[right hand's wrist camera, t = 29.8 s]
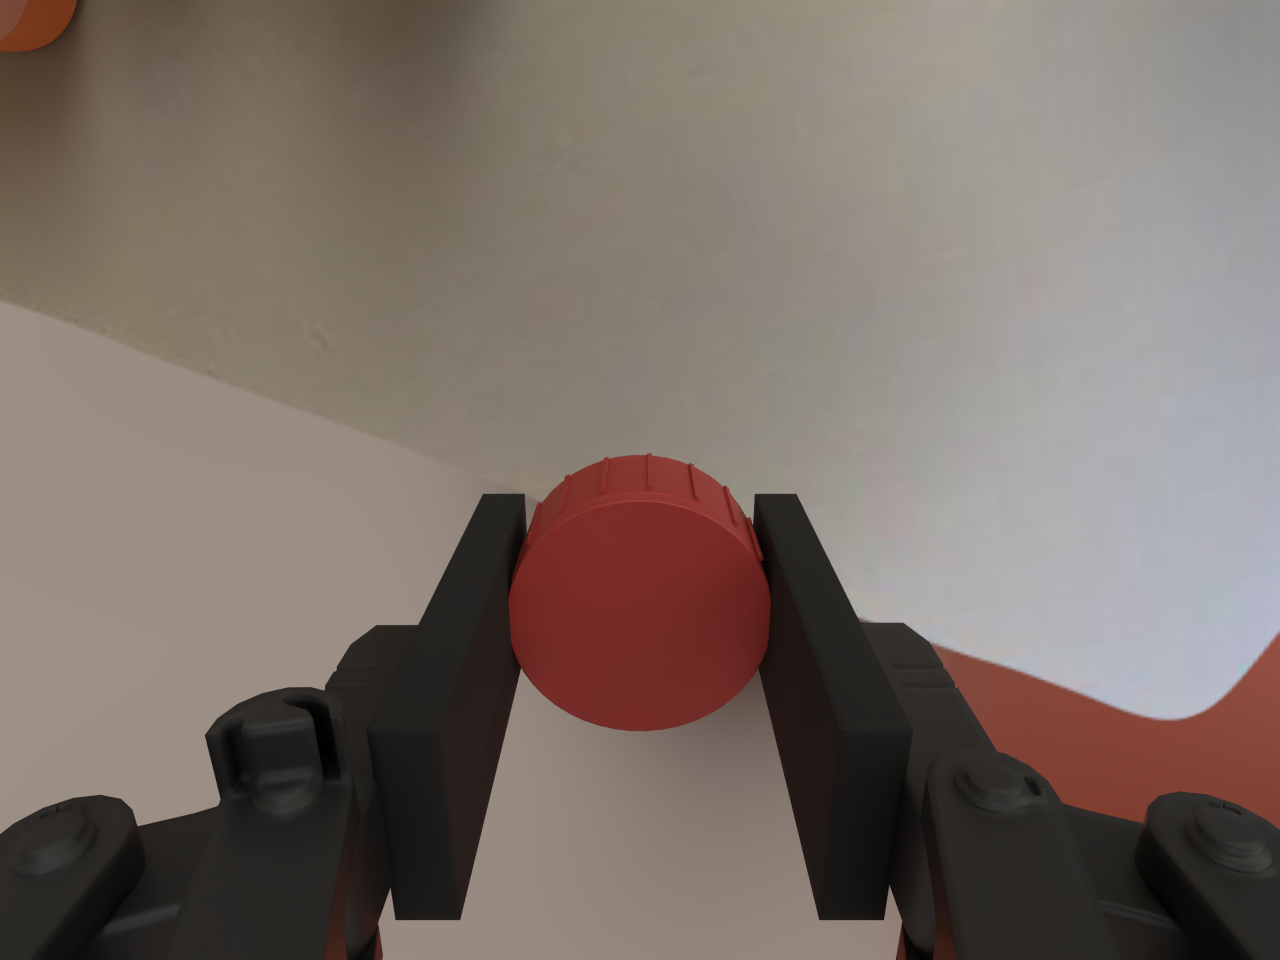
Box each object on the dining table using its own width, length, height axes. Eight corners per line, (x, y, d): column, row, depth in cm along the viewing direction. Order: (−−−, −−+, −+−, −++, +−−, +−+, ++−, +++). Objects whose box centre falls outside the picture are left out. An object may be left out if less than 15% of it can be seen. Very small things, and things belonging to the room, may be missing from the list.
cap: (519, 655, 15) (502, 726, 13) (525, 441, 14) (506, 485, 12) (741, 670, 15) (756, 742, 13) (772, 459, 14) (794, 507, 12)
